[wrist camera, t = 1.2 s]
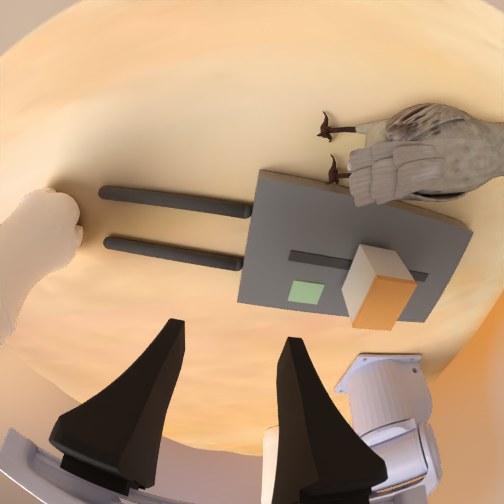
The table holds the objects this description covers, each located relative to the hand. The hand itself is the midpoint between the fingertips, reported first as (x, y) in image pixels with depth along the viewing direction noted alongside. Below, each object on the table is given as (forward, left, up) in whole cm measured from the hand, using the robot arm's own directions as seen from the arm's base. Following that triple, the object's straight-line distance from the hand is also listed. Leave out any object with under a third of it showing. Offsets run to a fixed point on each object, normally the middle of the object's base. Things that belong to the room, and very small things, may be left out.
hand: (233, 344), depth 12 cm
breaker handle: (-9, 0, -8) cm, 12 cm away
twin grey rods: (+6, 0, -10) cm, 12 cm away
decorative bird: (-11, -10, -11) cm, 19 cm away
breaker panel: (-9, 0, -10) cm, 14 cm away
